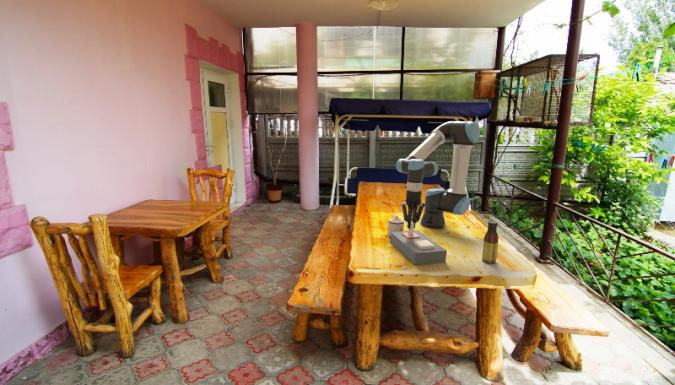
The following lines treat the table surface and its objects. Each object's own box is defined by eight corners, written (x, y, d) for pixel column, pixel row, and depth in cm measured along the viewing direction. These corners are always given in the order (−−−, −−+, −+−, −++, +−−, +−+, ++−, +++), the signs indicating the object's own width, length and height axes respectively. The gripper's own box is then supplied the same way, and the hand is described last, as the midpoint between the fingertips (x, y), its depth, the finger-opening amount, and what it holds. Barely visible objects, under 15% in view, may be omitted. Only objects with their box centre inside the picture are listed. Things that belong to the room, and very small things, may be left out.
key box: (417, 240, 177) (418, 230, 175) (445, 262, 150) (446, 250, 149) (390, 242, 173) (391, 232, 171) (414, 265, 146) (415, 253, 145)
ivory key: (426, 247, 158) (427, 239, 157) (433, 253, 152) (434, 245, 151) (413, 248, 157) (413, 240, 156) (420, 254, 150) (420, 246, 149)
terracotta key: (413, 239, 172) (413, 231, 171) (419, 243, 165) (420, 236, 164) (401, 239, 170) (401, 232, 169) (406, 244, 163) (407, 237, 162)
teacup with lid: (401, 239, 178) (403, 219, 175) (385, 236, 181) (386, 217, 179) (405, 232, 189) (406, 213, 186) (390, 230, 192) (391, 211, 190)
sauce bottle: (491, 258, 155) (497, 219, 151) (498, 264, 149) (504, 223, 145) (478, 258, 155) (483, 219, 151) (484, 264, 149) (490, 223, 145)
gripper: (405, 192, 156) (402, 237, 161) (429, 191, 159) (425, 236, 164) (399, 188, 163) (395, 232, 168) (422, 188, 166) (418, 231, 172)
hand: (410, 234), depth 166 cm, fingers closed
